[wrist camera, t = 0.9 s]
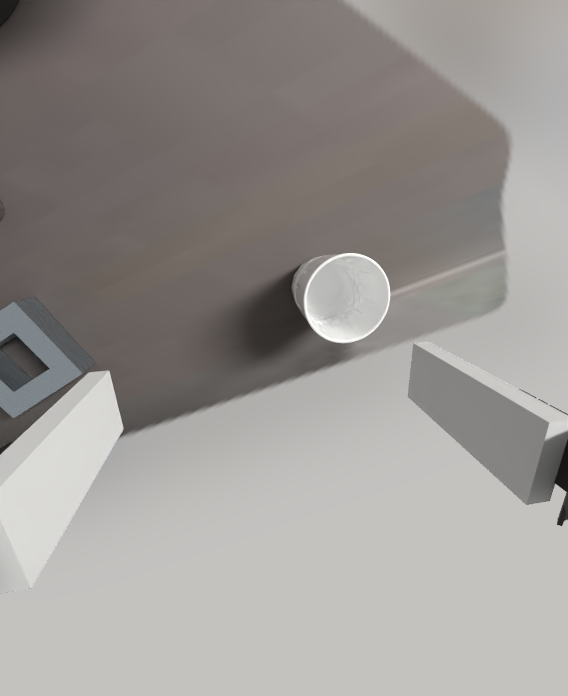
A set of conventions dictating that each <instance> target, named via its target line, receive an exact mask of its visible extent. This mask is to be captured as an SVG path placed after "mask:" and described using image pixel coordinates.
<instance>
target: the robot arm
mask: <svg viewBox="0 0 568 696" xmlns="http://www.w3.org/2000/svg"><path fill="white" fill-rule="evenodd" d="M17 3H18V0H0V25H1V24H2V23H3V22H4V21H5V20H6V19H7V18H8V16H9V15H10V14H11V13H12V11H13V10H14V8H15V6H16V4H17ZM408 397H409V398H410V399H411V400H412V401H413V402H414V403H415V404H416V405H418V406H419V407H420V408H421V409H422V410H423V411H424V412H425V413H426V414H427V415H429V417H431V418H432V419H433V420H434V421H435V422H436V423H437V424H438V425H439V426H440V427H442V428H443V429H444V430H445V431H446V432H447V433H448V434H449V435H450V436H452V437H453V438H454V439H455V440H456V441H457V442H458V443H459V444H460V445H461V446H462V447H464V448H465V449H466V450H467V451H468V452H469V453H470V454H471V455H472V456H473V457H474V458H476V459H477V460H478V461H479V462H480V463H481V464H482V465H483V466H484V467H485V468H487V469H488V470H489V471H490V472H491V473H492V474H493V475H494V476H495V477H497V478H498V479H499V480H500V481H501V482H502V483H503V484H504V485H505V486H506V487H507V488H509V489H510V490H511V491H512V492H513V493H514V494H515V495H516V496H517V497H518V498H519V499H521V500H522V501H523V502H524V503H525V504H526V505H528V504H534V503H540V502H546V501H550V498H551V495H552V492H553V489H554V485H555V483H556V484H557V485H558V486H560V487H561V488H562V489H563V490H565V491H566V492H567V493H566V496H565V499H564V502H563V505H562V508H561V511H560V514H559V517H558V522H557V525H560V526H562V525H563V522H564V521H565V520H567V519H568V414H566V413H565V412H562V411H561V410H559V409H557V408H555V407H553V406H551V405H548V404H547V403H546V402H544V401H542V400H540V399H536V397H534V396H532V395H530V394H528V393H527V392H525V391H523V390H520V389H517V388H515V387H513V386H512V385H510V384H508V383H506V382H504V381H502V380H500V379H498V378H496V377H495V376H493V375H491V374H489V373H487V372H485V371H483V370H481V369H480V368H478V367H476V366H474V365H472V364H470V363H468V362H466V361H465V360H463V359H461V358H459V357H457V356H455V355H453V354H451V353H449V352H448V351H446V350H444V349H442V348H440V347H438V346H436V345H434V344H432V343H431V342H419V343H413V351H412V361H411V371H410V380H409V390H408ZM122 431H123V425H122V421H121V417H120V413H119V409H118V405H117V401H116V397H115V392H114V388H113V384H112V380H111V376H110V372H109V371H100V372H89V373H88V374H87V375H86V376H85V377H84V378H82V379H81V380H80V381H79V382H78V383H77V384H76V385H75V386H74V387H73V388H72V389H71V390H70V391H68V392H67V393H66V394H65V395H64V396H63V397H62V398H61V399H60V400H59V401H58V402H57V403H56V404H54V405H53V406H52V407H51V408H50V409H49V410H48V411H47V412H46V413H45V414H44V415H43V416H42V417H40V418H39V419H38V420H37V421H36V422H35V423H34V424H33V425H32V426H31V427H30V428H29V429H28V430H26V431H25V432H24V433H23V434H22V435H21V436H20V437H19V438H18V439H17V440H16V441H15V442H10V443H8V444H7V445H5V446H3V447H2V448H0V594H2V593H8V592H14V591H20V590H26V589H32V587H33V585H34V583H35V582H36V580H37V578H38V576H39V575H40V573H41V571H42V569H43V568H44V566H45V564H46V562H47V561H48V559H49V557H50V556H51V554H52V552H53V550H54V549H55V547H56V545H57V544H58V542H59V540H60V538H61V537H62V535H63V533H64V531H65V530H66V528H67V526H68V524H69V523H70V521H71V519H72V518H73V516H74V514H75V512H76V511H77V509H78V507H79V505H80V504H81V502H82V500H83V498H84V497H85V495H86V493H87V491H88V490H89V488H90V486H91V485H92V483H93V481H94V479H95V478H96V476H97V474H98V472H99V471H100V469H101V467H102V465H103V464H104V462H105V460H106V459H107V457H108V455H109V453H110V452H111V450H112V448H113V446H114V444H115V443H116V441H117V440H118V438H119V436H120V434H121V433H122Z"/></svg>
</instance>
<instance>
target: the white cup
mask: <svg viewBox="0 0 568 696" xmlns="http://www.w3.org/2000/svg"><path fill="white" fill-rule="evenodd" d="M291 289H292V293H293V296H294V300H295V302H296V304H297V306H298V308H299V309H300V311H301V313H302V314H303V316H304V317H305V319H306V320H307V321H308V323H309V324H310V326H311V327H312V329H313V330H314V331H315V332H316V333H317V334H319V335H320V336H321V337H323V338H325V339H327V340H329V341H332V342H337V343H349V342H354V341H357V340H360V339H362V338H364V337H366V336H368V335H369V334H370V333H372V332H373V331H374V330H375V329H376V328H377V327H378V326H379V324H380V323H381V322H382V320H383V319H384V317H385V315H386V312H387V310H388V306H389V302H390V287H389V283H388V279H387V277H386V275H385V273H384V271H383V270H382V268H381V267H380V266H379V265H378V264H377V263H376V262H375V261H373V260H372V259H370V258H368V257H366V256H364V255H360V254H354V253H347V254H332V255H325V256H320V257H315V258H312V259H310V260H308V261H307V262H305V263H303V264H302V265H301V266H300V267H299V269H298V270H297V272H296V273H295V274H294V278H293V283H292V288H291Z"/></svg>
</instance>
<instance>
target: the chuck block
mask: <svg viewBox="0 0 568 696" xmlns="http://www.w3.org/2000/svg"><path fill="white" fill-rule="evenodd" d="M16 336H18V337H19V338H20V339H21V340H22V341H23V342H24V343H25V344H26V345H27V346H28V347H29V348H30V349H31V350H32V351H33V352H34V353H35V354H36V355H37V356H38V357H39V358H40V359H41V360H42V361H43V362H44V363H45V364H46V365H47V366H48V367H49V368H50V369H48V370H47V371H45V372H44V373H42V374H41V375H39V376H38V377H36V378H34V379H33V380H32V379H31V378H30V377H29V376H28V375H27V374H26V373H25V372H24V371H23V370H22V369H21V368H20V367H19V366H18V365H17V364H16V363H15V362H14V361H13V360H12V359H11V358H10V357H9V356H7V355H6V354H5V353H4V352H3V351H2V350H1V349H0V407H1V408H2V409H4V410H5V411H6V412H7V413H8V414H9V415H10V416H11V417H12V418H15V417H16V416H18V415H20V414H21V413H23V412H24V411H26V410H27V409H29V408H30V407H32V406H33V405H35V404H37V403H38V402H40V401H41V400H43V399H44V398H46V397H47V396H49V395H50V394H52V393H54V392H55V391H57V390H58V389H60V388H61V387H63V386H64V385H66V384H68V383H69V382H71V381H72V380H74V379H75V378H77V377H78V376H80V375H81V374H83V373H84V372H85V371H87V370H88V369H89V368H90V367H91V366H93V365H94V364H95V362H94V361H93V360H92V359H91V357H90V356H89V355H88V354H87V353H86V352H85V351H84V350H83V349H82V348H81V347H80V346H79V344H78V343H77V342H76V341H75V340H74V339H73V338H72V337H71V336H70V335H69V334H68V333H67V331H66V330H65V329H64V328H63V327H62V326H61V325H60V324H59V323H58V322H57V321H56V320H55V318H54V317H53V316H52V315H51V314H50V313H49V312H48V311H47V310H46V309H45V308H44V306H43V305H42V304H41V303H40V302H39V301H38V300H37V299H36V298H35V297H31V298H27V299H23V300H19V301H15V302H13V303H11V304H10V305H8V306H7V307H5V308H4V309H2V310H1V311H0V347H1V346H3V345H4V344H6V343H7V342H9V341H10V340H12V339H13V338H15V337H16Z"/></svg>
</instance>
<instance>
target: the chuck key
mask: <svg viewBox="0 0 568 696" xmlns="http://www.w3.org/2000/svg"><path fill="white" fill-rule="evenodd" d="M3 216H4V207H3V204H2V202H1V201H0V221H1V220H2V218H3Z"/></svg>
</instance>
